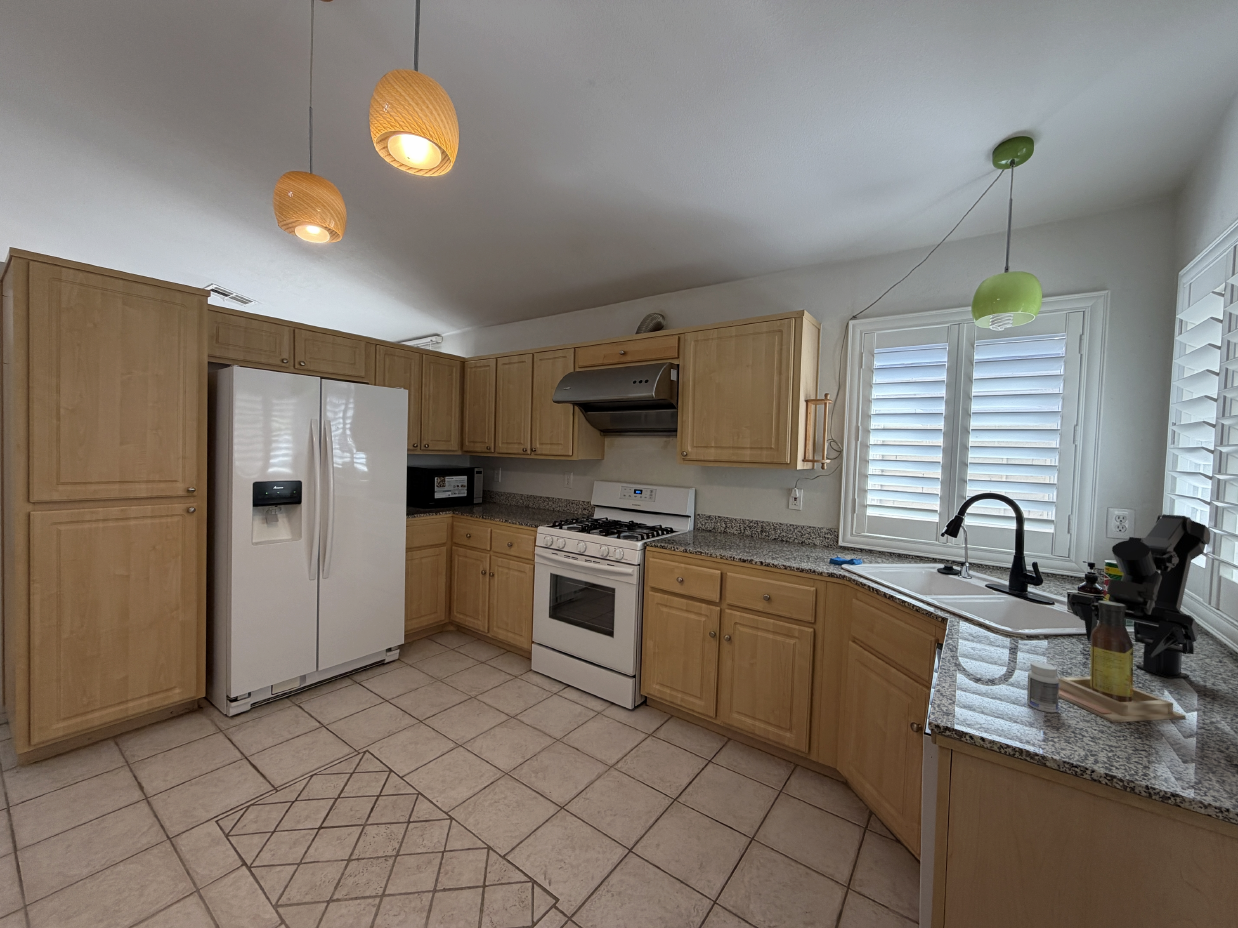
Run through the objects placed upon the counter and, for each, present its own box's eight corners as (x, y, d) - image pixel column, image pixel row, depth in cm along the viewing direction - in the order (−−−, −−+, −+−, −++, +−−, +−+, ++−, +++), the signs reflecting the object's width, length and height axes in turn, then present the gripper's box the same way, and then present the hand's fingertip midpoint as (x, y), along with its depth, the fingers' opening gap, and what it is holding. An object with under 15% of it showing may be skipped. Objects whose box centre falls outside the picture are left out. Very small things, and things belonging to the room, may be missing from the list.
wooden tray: (1103, 684, 108) (1103, 673, 108) (1185, 717, 94) (1186, 705, 94) (1038, 687, 105) (1038, 676, 105) (1113, 722, 91) (1113, 709, 91)
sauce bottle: (1140, 708, 96) (1144, 609, 96) (1100, 702, 98) (1104, 605, 98) (1119, 694, 102) (1122, 601, 102) (1082, 688, 104) (1085, 597, 104)
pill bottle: (1064, 714, 94) (1065, 671, 94) (1036, 711, 95) (1038, 668, 95) (1047, 702, 99) (1049, 661, 98) (1021, 699, 99) (1022, 659, 99)
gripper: (1072, 557, 112) (1050, 611, 106) (1196, 575, 95) (1177, 640, 90) (1084, 587, 115) (1064, 641, 110) (1205, 610, 99) (1188, 673, 94)
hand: (1118, 647), depth 101 cm, fingers open, 9 cm apart
